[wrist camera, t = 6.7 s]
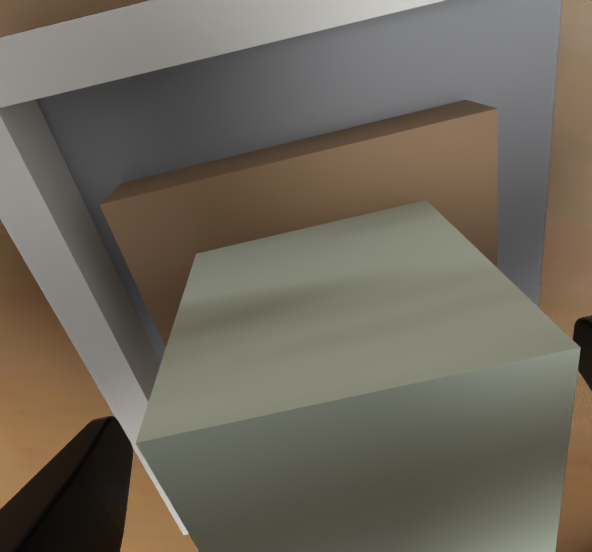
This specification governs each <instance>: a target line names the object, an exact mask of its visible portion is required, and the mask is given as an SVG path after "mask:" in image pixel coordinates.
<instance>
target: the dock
mask: <svg viewBox="0 0 592 552" xmlns="http://www.w3.org/2000/svg"><path fill="white" fill-rule="evenodd" d="M561 4H562V0H149V1H145V2H141V3H137V4H133V5H129V6H125V7H121V8H117V9H113V10H109V11H105V12H101V13H97V14H93V15H89V16H85V17H81V18H77V19H73V20H69V21H65V22H61V23H57V24H53V25H49V26H45V27H41V28H37V29H33V30H29V31H25V32H21V33H17V34H13V35H9V36H5V37H1V38H0V220H1V221H2V223H3V225H4V226H5V228H6V230H7V232H8V233H9V235H10V237H11V238H12V240H13V242H14V244H15V245H16V247H17V249H18V251H19V252H20V254H21V256H22V257H23V259H24V261H25V263H26V264H27V266H28V268H29V269H30V271H31V273H32V275H33V276H34V278H35V280H36V282H37V283H38V285H39V287H40V288H41V290H42V292H43V294H44V295H45V297H46V299H47V301H48V302H49V304H50V306H51V307H52V309H53V311H54V313H55V314H56V316H57V318H58V319H59V321H60V323H61V325H62V326H63V328H64V330H65V332H66V333H67V335H68V337H69V338H70V340H71V342H72V344H73V345H74V347H75V349H76V350H77V352H78V354H79V356H80V357H81V359H82V361H83V363H84V364H85V366H86V368H87V369H88V371H89V373H90V375H91V376H92V378H93V380H94V382H95V383H96V385H97V387H98V388H99V390H100V392H101V394H102V395H103V397H104V399H105V400H106V402H107V404H108V406H109V407H110V409H111V411H112V413H113V414H114V416H115V418H117V420H118V421H119V423H120V425H121V426H122V428H123V430H124V431H125V433H126V435H127V437H128V438H129V440H130V442H131V444H132V447H133V449H134V450H135V452H136V454H137V456H138V457H139V459H140V461H141V463H142V464H143V466H144V468H145V469H146V471H147V473H148V475H149V476H150V478H151V480H152V481H153V483H154V485H155V487H156V488H157V490H158V492H159V494H160V495H161V497H162V499H163V500H164V502H165V504H166V506H167V507H168V509H169V511H170V512H171V514H172V516H173V518H174V519H175V521H176V523H177V525H178V526H179V528H180V530H181V531H182V533H183V535H187V534H189V533H188V531H187V530H186V528H185V526H184V525H183V523H182V521H181V520H180V518H179V516H178V514H177V513H176V511H175V509H174V508H173V506H172V504H171V503H170V501H169V499H168V497H167V496H166V494H165V492H164V491H163V489H162V487H161V486H160V484H159V482H158V481H157V479H156V477H155V475H154V474H153V472H152V470H151V469H150V467H149V465H148V464H147V462H146V460H145V458H144V457H143V455H142V453H141V452H140V450H139V448H138V447H137V445H136V439H137V436H138V433H139V430H140V427H141V424H142V421H143V418H144V415H145V411H146V408H147V405H148V402H149V399H150V396H151V393H152V390H153V387H154V383H155V380H156V377H157V374H158V371H159V368H160V365H161V362H162V359H163V355H164V352H165V349H166V347H165V345H164V342H163V340H162V338H161V336H160V334H159V332H158V330H157V327H156V325H155V323H154V321H153V319H152V317H151V315H150V312H149V310H148V308H147V306H146V304H145V302H144V300H143V297H142V295H141V293H140V291H139V289H138V287H137V285H136V282H135V280H134V278H133V276H132V274H131V272H130V270H129V267H128V265H127V263H126V261H125V259H124V257H123V255H122V252H121V250H120V248H119V246H118V244H117V242H116V239H115V237H114V235H113V233H112V231H111V229H110V227H109V224H108V222H107V220H106V218H105V216H104V214H103V212H102V209H101V207H100V204H101V203H102V202H103V201H104V200H105V199H106V198H107V197H108V196H109V195H110V194H111V193H112V192H113V191H114V190H115V189H116V188H117V187H118V186H119V185H120V184H121V183H125V182H129V181H133V180H137V179H141V178H146V177H150V176H154V175H158V174H162V173H166V172H170V171H174V170H178V169H182V168H187V167H191V166H195V165H199V164H203V163H207V162H211V161H215V160H219V159H224V158H228V157H232V156H236V155H240V154H244V153H248V152H252V151H256V150H261V149H265V148H269V147H273V146H277V145H281V144H285V143H289V142H293V141H297V140H302V139H306V138H310V137H314V136H318V135H322V134H326V133H330V132H334V131H339V130H343V129H347V128H351V127H355V126H359V125H363V124H367V123H371V122H376V121H380V120H384V119H388V118H392V117H396V116H400V115H404V114H408V113H412V112H417V111H421V110H425V109H429V108H433V107H437V106H441V105H445V104H449V103H454V102H458V101H462V100H469V101H472V102H476V103H480V104H483V105H487V106H491V107H494V108H498V176H497V268H498V269H499V270H500V271H501V272H502V273H503V274H504V275H505V276H506V277H507V278H508V279H509V280H510V281H511V282H513V283H514V284H515V285H516V286H517V287H518V288H519V289H520V290H521V291H522V292H523V293H524V294H525V295H526V296H527V297H528V298H529V299H530V300H531V301H532V302H533V303H534V304H536V305H537V306H538V307H539V299H540V285H541V272H542V258H543V245H544V232H545V218H546V205H547V192H548V178H549V165H550V151H551V138H552V125H553V111H554V98H555V84H556V71H557V58H558V44H559V31H560V18H561Z"/></svg>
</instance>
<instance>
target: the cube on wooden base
mask: <svg viewBox="0 0 592 552" xmlns="http://www.w3.org/2000/svg"><path fill="white" fill-rule="evenodd" d="M497 176H498V108H494V107H491V106H487V105H483V104H480V103H476V102H472V101H469V100H462V101H458V102H454V103H449V104H445V105H441V106H437V107H433V108H429V109H425V110H421V111H417V112H412V113H408V114H404V115H400V116H396V117H392V118H388V119H384V120H380V121H376V122H371V123H367V124H363V125H359V126H355V127H351V128H347V129H343V130H339V131H334V132H330V133H326V134H322V135H318V136H314V137H310V138H306V139H302V140H297V141H293V142H289V143H285V144H281V145H277V146H273V147H269V148H265V149H261V150H256V151H252V152H248V153H244V154H240V155H236V156H232V157H228V158H224V159H219V160H215V161H211V162H207V163H203V164H199V165H195V166H191V167H187V168H182V169H178V170H174V171H170V172H166V173H162V174H158V175H154V176H150V177H146V178H141V179H137V180H133V181H129V182H125V183H121V184H120V185H119V186H118V187H117V188H116V189H115V190H114V191H113V192H112V193H111V194H110V195H109V196H108V197H107V198H106V199H105V200H104V201H103V202H102V203H101V204H100V207H101V209H102V212H103V214H104V216H105V218H106V220H107V222H108V224H109V227H110V229H111V231H112V233H113V235H114V237H115V239H116V242H117V244H118V246H119V248H120V250H121V252H122V255H123V257H124V259H125V261H126V263H127V265H128V267H129V270H130V272H131V274H132V276H133V278H134V280H135V282H136V285H137V287H138V289H139V291H140V293H141V295H142V297H143V300H144V302H145V304H146V306H147V308H148V310H149V312H150V315H151V317H152V319H153V321H154V323H155V325H156V327H157V330H158V332H159V334H160V336H161V338H162V340H163V342H164V345H165V347H166V349H165V352H164V355H163V359H162V362H161V365H160V368H159V371H158V374H157V377H156V380H155V383H154V387H153V390H152V393H151V396H150V399H149V402H148V405H147V408H146V411H145V415H144V418H143V421H142V424H141V427H140V430H139V433H138V436H137V439H136V445H137V447H138V448H139V450H140V452H141V453H142V455H143V457H144V458H145V460H146V462H147V464H148V465H149V467H150V469H151V470H152V472H153V474H154V475H155V477H156V479H157V481H158V482H159V484H160V486H161V487H162V489H163V491H164V492H165V494H166V496H167V497H168V499H169V501H170V503H171V504H172V506H173V508H174V509H175V511H176V513H177V514H178V516H179V518H180V520H181V521H182V523H183V525H184V526H185V528H186V530H187V531H188V533H189V535H190V536H191V538H192V540H193V542H194V543H195V545H196V547H197V548H198V550H199V552H555V550H556V542H557V534H558V526H559V518H560V510H561V502H562V494H563V486H564V478H565V470H566V462H567V454H568V446H569V438H570V429H571V421H572V413H573V405H574V397H575V389H576V381H577V373H578V365H579V357H580V349H581V347H579V346H578V345H577V344H576V343H575V342H574V341H573V340H572V339H571V338H570V337H569V336H568V335H567V334H566V333H565V332H564V331H563V330H562V329H561V328H560V327H559V326H557V325H556V324H555V323H554V322H553V321H552V320H551V319H550V318H549V317H548V316H547V315H546V314H545V313H544V312H543V311H542V310H541V309H540V308H539V307H538V306H537V305H536V304H534V303H533V302H532V301H531V300H530V299H529V298H528V297H527V296H526V295H525V294H524V293H523V292H522V291H521V290H520V289H519V288H518V287H517V286H516V285H515V284H514V283H513V282H511V281H510V280H509V279H508V278H507V277H506V276H505V275H504V274H503V273H502V272H501V271H500V270H499V269H498V268H497Z"/></svg>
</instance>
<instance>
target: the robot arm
mask: <svg viewBox="0 0 592 552" xmlns="http://www.w3.org/2000/svg"><path fill="white" fill-rule="evenodd" d="M573 341H574V342H575V343H576V344H577V345H578V346H579V347H581V349H580V357H579V365H578V371H579V372H580V374H581V375H582V377H583V378H584V380H585V382H586V383H587V385H588V386H589V388H590V389H591V391H592V315H591V316H587V317H582V318H579V319H578V320H577V321H576V322H575V326H574V333H573ZM132 460H133V448H132V444H131V442H130V440H129V438H128V437H127V435H126V433H125V431H124V430H123V428H122V426H121V425H120V423H119V421H118V420H117V418H115V417H113V416H108V417H103V418H98V419H95V420H92V421H91V422H90V423H88V424H87V425H86V426H85V427H84V428H83V429H82V430H81V431H80V432H79V433H78V434H77V435H76V436H75V437H74V438H73V439H72V440H71V441H70V442H69V443H68V444H67V445H66V446H65V447H64V448H63V449H62V450H61V451H60V452H59V453H58V454H57V455H56V456H55V457H54V458H53V459H52V460H51V461H49V462H48V463H47V464H46V465H45V466H44V467H43V468H42V469H41V470H40V471H39V472H38V473H37V474H36V475H35V476H34V477H33V478H32V479H31V480H30V481H29V482H28V483H27V484H26V485H25V486H24V487H23V488H22V489H21V490H20V491H19V492H18V493H17V494H16V495H15V496H14V497H13V498H12V499H11V500H9V501H8V502H7V503H6V504H5V505H4V506H3V507H2V508H1V509H0V552H120V548H121V543H122V538H123V533H124V526H125V519H126V511H127V502H128V494H129V485H130V477H131V468H132Z"/></svg>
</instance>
